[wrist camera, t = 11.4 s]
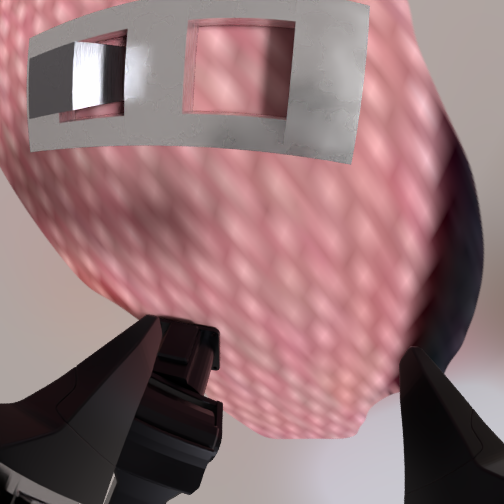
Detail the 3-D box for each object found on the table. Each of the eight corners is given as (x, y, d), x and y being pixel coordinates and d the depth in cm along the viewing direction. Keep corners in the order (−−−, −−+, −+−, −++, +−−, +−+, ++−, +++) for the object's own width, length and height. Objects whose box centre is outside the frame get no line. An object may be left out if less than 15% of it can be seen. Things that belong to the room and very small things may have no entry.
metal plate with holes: (345, 157, 17) (351, 164, 15) (45, 145, 19) (30, 152, 17) (361, 13, 12) (369, 5, 10) (45, 38, 13) (29, 38, 12)
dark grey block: (127, 100, 17) (72, 110, 12) (84, 105, 17) (29, 119, 12) (129, 47, 15) (74, 41, 9) (85, 57, 15) (29, 58, 10)
